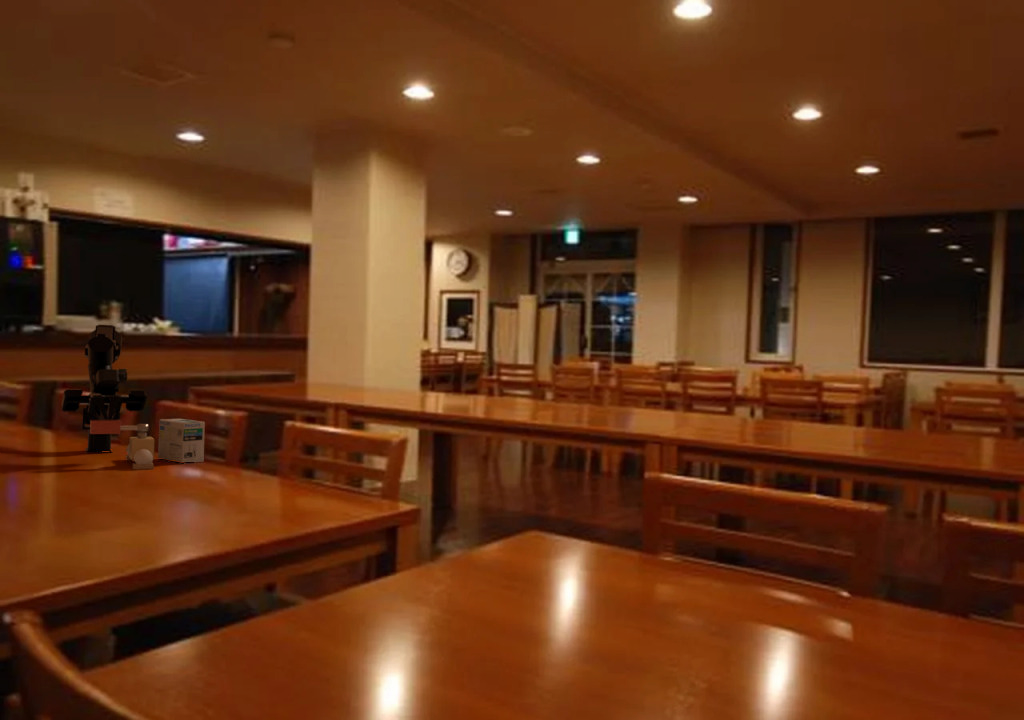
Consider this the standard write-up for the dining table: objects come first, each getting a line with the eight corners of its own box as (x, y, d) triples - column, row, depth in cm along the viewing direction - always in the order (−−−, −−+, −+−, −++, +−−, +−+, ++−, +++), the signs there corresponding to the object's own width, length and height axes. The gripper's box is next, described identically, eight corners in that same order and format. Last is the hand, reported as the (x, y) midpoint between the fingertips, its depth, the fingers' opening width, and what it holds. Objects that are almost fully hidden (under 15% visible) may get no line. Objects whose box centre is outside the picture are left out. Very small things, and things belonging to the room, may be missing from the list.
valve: (124, 459, 211) (125, 426, 211) (144, 458, 214) (146, 426, 214) (132, 469, 197) (133, 434, 197) (154, 468, 199) (156, 434, 199)
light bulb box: (204, 462, 214) (206, 421, 214) (182, 464, 208) (183, 422, 208) (178, 457, 220) (180, 417, 220) (156, 459, 214) (158, 418, 214)
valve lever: (89, 432, 198) (90, 419, 198) (147, 432, 204) (148, 419, 204) (90, 434, 195) (91, 420, 195) (149, 433, 202) (149, 420, 202)
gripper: (65, 356, 199) (70, 404, 190) (146, 358, 210) (155, 404, 201) (59, 386, 205) (63, 434, 196) (138, 387, 216) (146, 433, 208)
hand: (108, 426), depth 200 cm, fingers closed
